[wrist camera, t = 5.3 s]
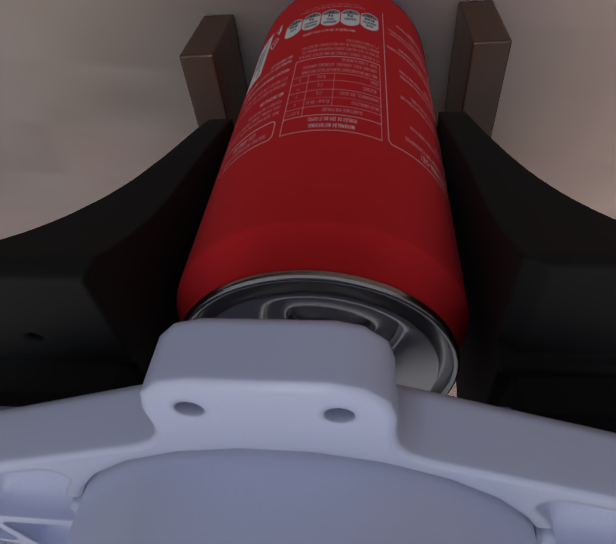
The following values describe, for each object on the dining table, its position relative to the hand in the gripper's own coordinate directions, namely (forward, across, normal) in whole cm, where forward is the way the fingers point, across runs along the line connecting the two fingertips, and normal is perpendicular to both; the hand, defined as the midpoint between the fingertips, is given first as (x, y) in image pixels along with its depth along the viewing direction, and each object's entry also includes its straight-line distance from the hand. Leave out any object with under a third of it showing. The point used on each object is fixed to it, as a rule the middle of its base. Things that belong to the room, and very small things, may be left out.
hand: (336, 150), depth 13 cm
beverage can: (+6, 0, 0) cm, 6 cm away
